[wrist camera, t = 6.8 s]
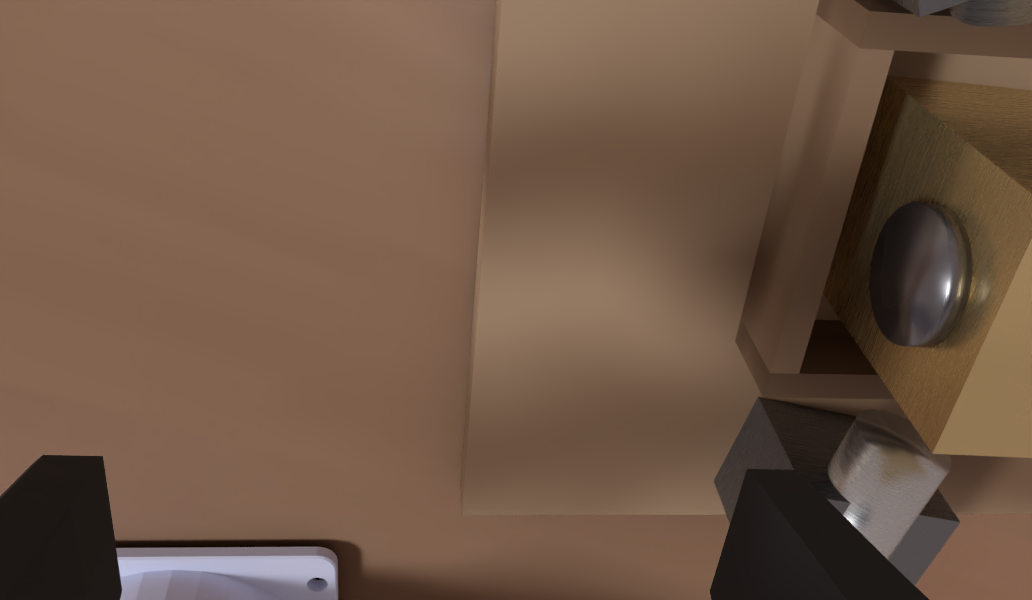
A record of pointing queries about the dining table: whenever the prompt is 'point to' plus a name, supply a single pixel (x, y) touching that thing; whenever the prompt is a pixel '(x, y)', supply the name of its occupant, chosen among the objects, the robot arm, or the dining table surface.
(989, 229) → the block
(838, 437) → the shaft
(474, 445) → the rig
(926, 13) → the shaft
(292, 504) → the dining table surface
